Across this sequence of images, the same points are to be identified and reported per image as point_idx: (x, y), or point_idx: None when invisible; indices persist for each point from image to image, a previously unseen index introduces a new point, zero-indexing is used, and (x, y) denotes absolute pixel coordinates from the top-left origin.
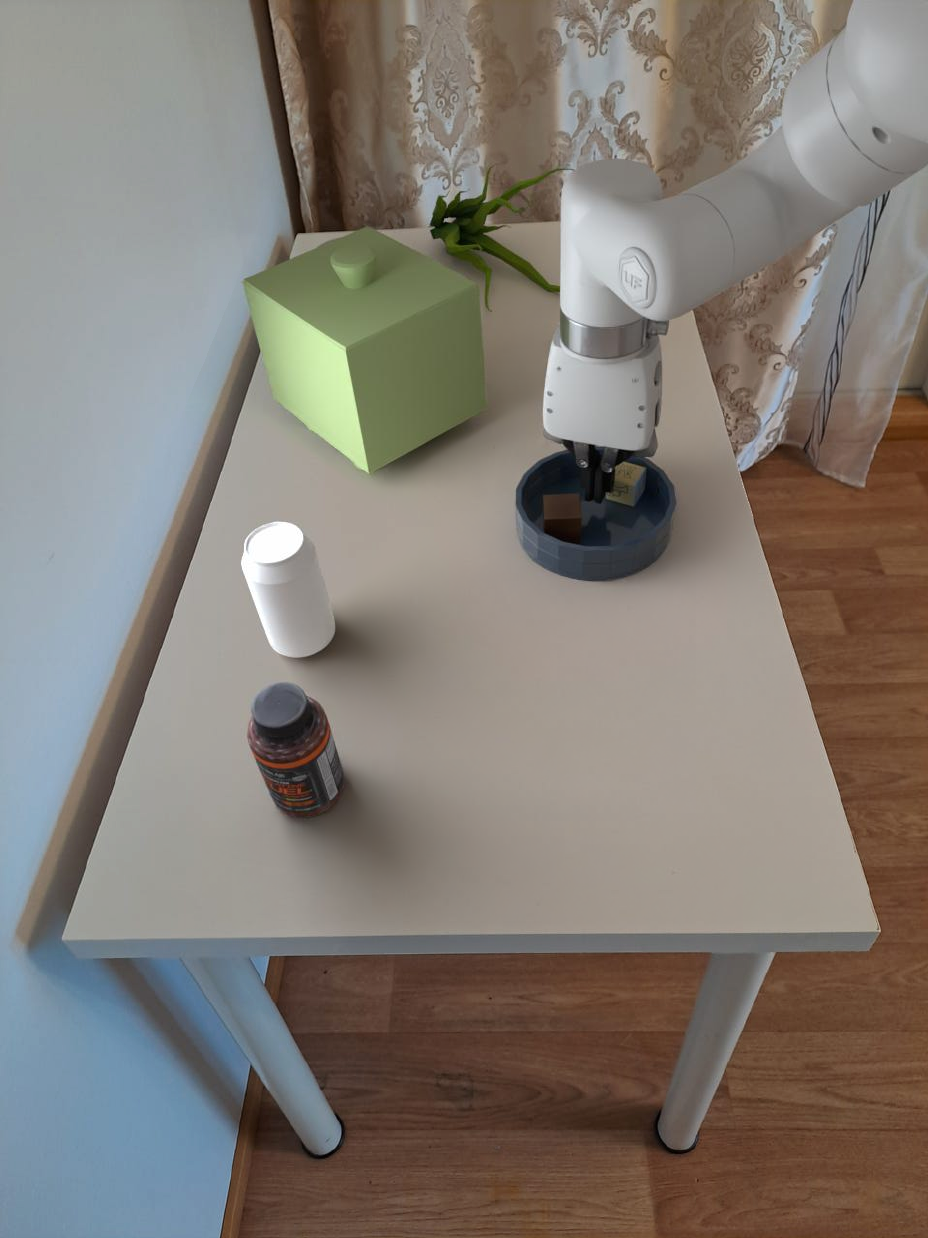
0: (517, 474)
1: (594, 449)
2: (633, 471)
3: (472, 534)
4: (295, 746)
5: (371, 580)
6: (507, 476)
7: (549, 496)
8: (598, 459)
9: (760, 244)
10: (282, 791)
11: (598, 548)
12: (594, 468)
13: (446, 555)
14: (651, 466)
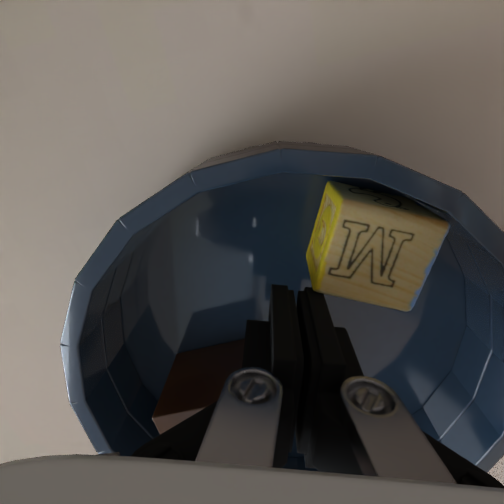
0: (44, 181)
1: (280, 429)
2: (403, 254)
3: (50, 387)
4: None
5: None
6: (23, 195)
7: (170, 421)
8: (298, 400)
9: None
10: None
11: None
12: (291, 442)
13: (34, 438)
14: (475, 237)
